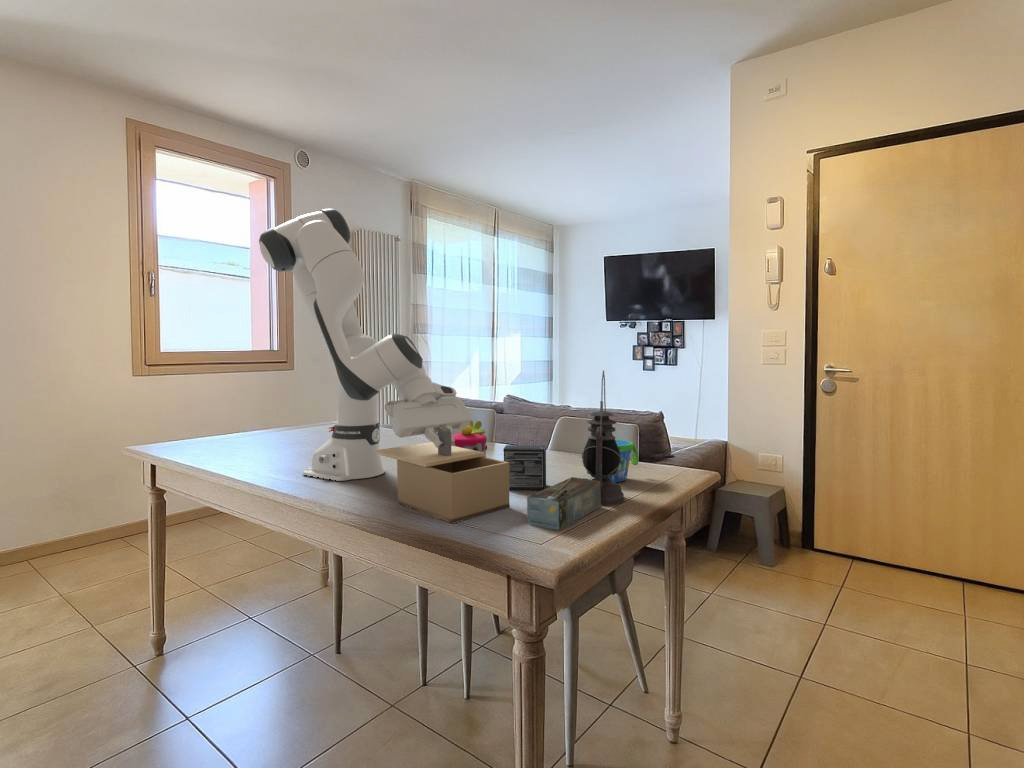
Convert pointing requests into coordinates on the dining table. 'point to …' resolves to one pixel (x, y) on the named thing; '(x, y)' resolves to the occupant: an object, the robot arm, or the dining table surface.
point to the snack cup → (625, 460)
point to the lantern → (603, 454)
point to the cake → (471, 438)
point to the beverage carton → (564, 503)
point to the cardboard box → (455, 487)
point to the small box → (526, 466)
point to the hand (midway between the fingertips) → (446, 444)
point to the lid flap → (430, 452)
